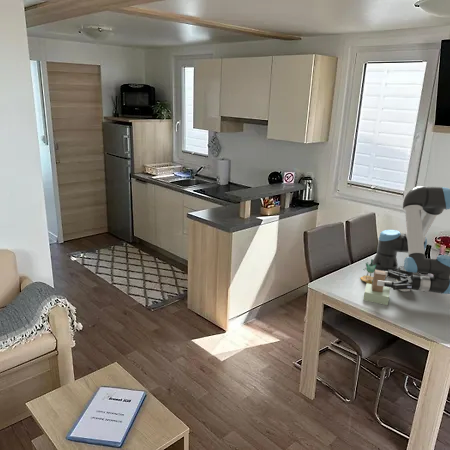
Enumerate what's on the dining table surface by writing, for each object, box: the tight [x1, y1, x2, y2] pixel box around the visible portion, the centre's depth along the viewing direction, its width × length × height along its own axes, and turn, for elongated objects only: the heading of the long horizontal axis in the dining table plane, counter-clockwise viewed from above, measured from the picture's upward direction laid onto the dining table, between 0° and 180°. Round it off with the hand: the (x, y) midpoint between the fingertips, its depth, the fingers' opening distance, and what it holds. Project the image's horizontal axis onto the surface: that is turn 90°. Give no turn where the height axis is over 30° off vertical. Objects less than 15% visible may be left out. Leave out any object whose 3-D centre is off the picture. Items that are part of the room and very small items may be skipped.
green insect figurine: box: [359, 258, 377, 284], centre depth 238 cm, size 10×18×15 cm, turn 163°
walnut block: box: [372, 269, 386, 292], centre depth 216 cm, size 5×5×10 cm
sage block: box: [363, 283, 391, 306], centre depth 219 cm, size 12×12×5 cm
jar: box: [395, 265, 415, 292], centre depth 230 cm, size 9×8×12 cm
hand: (375, 277), depth 216 cm, fingers open, 13 cm apart
